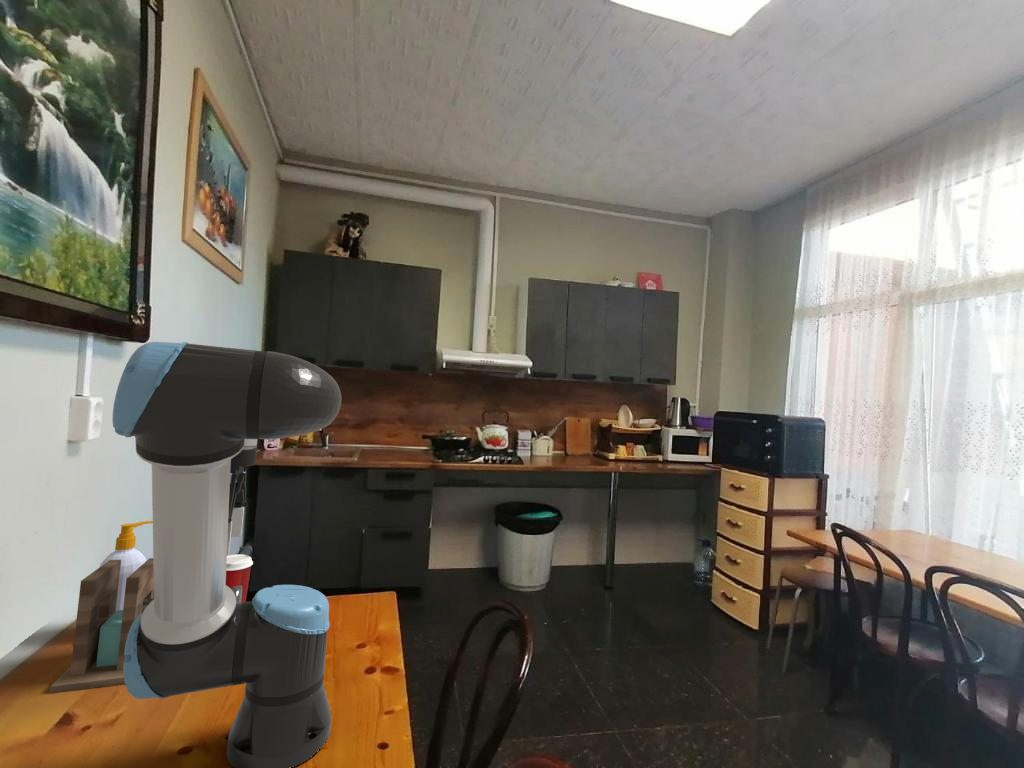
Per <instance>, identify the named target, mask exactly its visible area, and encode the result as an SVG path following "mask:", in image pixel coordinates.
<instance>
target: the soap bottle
mask: <svg viewBox="0 0 1024 768" xmlns="http://www.w3.org/2000/svg"><path fill="white" fill-rule="evenodd" d="M147 524H153V520H145V521H144V520H143V521H139V522H134V523H123V524H120V527H121V531H120V533H119V535H118V537H116V539H115V547H114V548H115V549H114V551H113V552H111V553H109V555H107V556H106V557H105V559H104V560H103V561H102V562H100V564H99V567H98V568H100V567H101V566H102V565H104V564H105V563H106V562H108V561H109V560H121V567H120V576H119V585H118V594H117V604H116V611H118V610H123V606H124V597H125V588H126V578H128V577H129V576H130V575H131V574H132V573H133V572H134V571H136V570H137V569H138V568H139V567H140V566H141V565H142V564H144V563H145V562H146V561H147V559H146V558H147V557H145V555H144V554H143V553H142V552H141V551H139V550H138V549H136V539H137V535H135V532H134V531H133V530H134V528H138V527H140V526H141V527H142V526H143V525H147Z"/></svg>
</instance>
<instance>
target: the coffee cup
mask: <svg viewBox="0 0 1024 768" xmlns="http://www.w3.org/2000/svg"><path fill="white" fill-rule="evenodd" d="M252 565H254V561H253V560H252V557H251V556H250V555H247V554H241V553H240V554H229V555H227V562H226V586H228V587H229V588H230V589H231V590H232V587H233V586H242V600H241V602H247V601H246V600H247V595H248V589H249V582H250V576H251V569H252Z"/></svg>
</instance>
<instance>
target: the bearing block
mask: <svg viewBox="0 0 1024 768" xmlns="http://www.w3.org/2000/svg"><path fill="white" fill-rule="evenodd" d="M99 567H100V566H99ZM99 567H98V568H96V570H94V571H93V572H91V573H90V574H88V575H87V576H85V578H83V579H82V580H80V586H79V594H78V603H77V612H76V622H75V629H74V631H75V632H74V638H73V649H72V656H71V657H72V659H71V665H70V666H69V667H68V668H67V669H66V670H65V671H64V672H63V673H62V674H61V675H60V676H59V677H58V678H56V679H57V680H55V681H54V683H52V685H50V690H49V694H55V693H64V692H70V691H78V690H79V691H80V690H86V689H87V690H88V689H95V688H102V687H104V688H105V687H112V686H119V685H121V686H122V685H125V681H124V673H123V664H124V661H125V655H124V652H125V644H126V640H127V636H128V633H129V630H130V628H131V626H132V624H133V622H134V620H135V619H136V618H137V617H138V616H139V615H140V614H142V605H143V599H150V598H154V567H153V557H151V558H150V557H149V558H148V559H146V562H145V563H144V564H142V565H141V566H140V567H139V568H138V569H137V570H136V571H134V572H133V573H132V574H131V575H130V576H129V577H128V578H126V588H125V597H124V606H123V616H122V625H121V634H120V644H119V653H118V662H117V665H109V666H100V667H96V664H97V655H98V645H99V636H100V627H101V626H102V625H103V624H104V623H105V622H106V621H107V620H108V619H109V618H110V617H111V616H112V615H113V614H114V613H115V612H116V604H117V594H118V585H119V576H120V567H121V560H109V561H108V562H106V563H105V564H104V565H102V566H101V567H100V568H99Z"/></svg>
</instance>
